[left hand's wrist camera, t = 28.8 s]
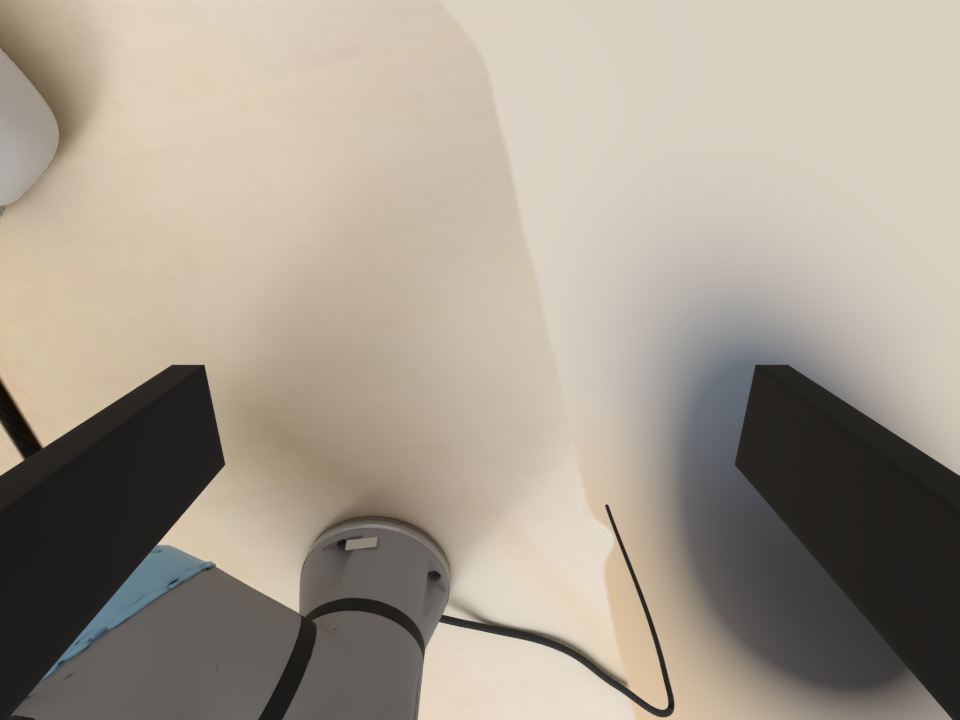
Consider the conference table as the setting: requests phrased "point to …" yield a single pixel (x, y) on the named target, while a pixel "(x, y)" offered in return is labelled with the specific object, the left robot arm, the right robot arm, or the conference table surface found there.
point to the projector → (22, 133)
